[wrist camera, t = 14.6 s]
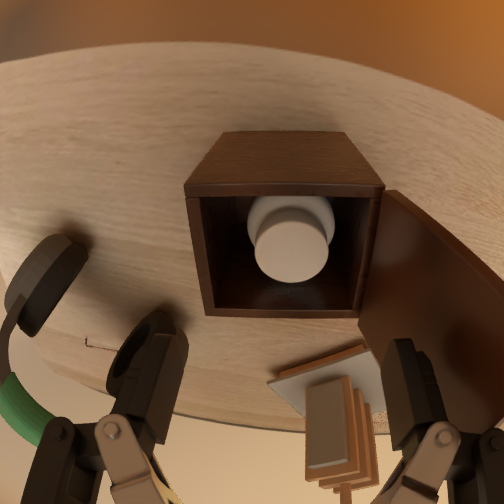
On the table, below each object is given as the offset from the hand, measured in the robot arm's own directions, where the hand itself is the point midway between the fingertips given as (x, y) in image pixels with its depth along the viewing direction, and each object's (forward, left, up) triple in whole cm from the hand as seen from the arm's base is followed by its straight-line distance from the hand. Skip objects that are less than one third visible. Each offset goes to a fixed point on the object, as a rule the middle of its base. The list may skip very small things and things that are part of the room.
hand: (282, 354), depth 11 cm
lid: (0, +6, -1) cm, 6 cm away
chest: (0, 0, -17) cm, 17 cm away
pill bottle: (0, 0, -17) cm, 17 cm away
